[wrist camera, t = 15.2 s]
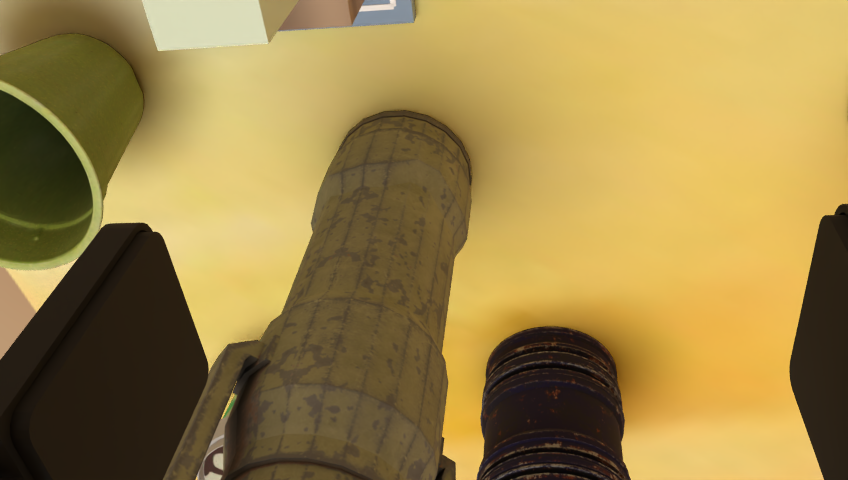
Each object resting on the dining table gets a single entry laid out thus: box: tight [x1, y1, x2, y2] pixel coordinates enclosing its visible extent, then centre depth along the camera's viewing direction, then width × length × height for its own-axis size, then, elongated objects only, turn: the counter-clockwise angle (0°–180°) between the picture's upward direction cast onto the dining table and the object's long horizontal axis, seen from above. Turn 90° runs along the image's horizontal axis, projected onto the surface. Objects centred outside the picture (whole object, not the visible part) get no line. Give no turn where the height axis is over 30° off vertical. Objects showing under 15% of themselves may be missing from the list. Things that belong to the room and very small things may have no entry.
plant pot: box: [0, 34, 144, 270], centre depth 45 cm, size 12×12×11 cm
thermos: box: [163, 111, 472, 480], centre depth 37 cm, size 9×12×35 cm
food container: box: [197, 394, 237, 480], centre depth 60 cm, size 12×6×10 cm, turn 176°
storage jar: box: [477, 327, 631, 480], centre depth 54 cm, size 10×10×15 cm
